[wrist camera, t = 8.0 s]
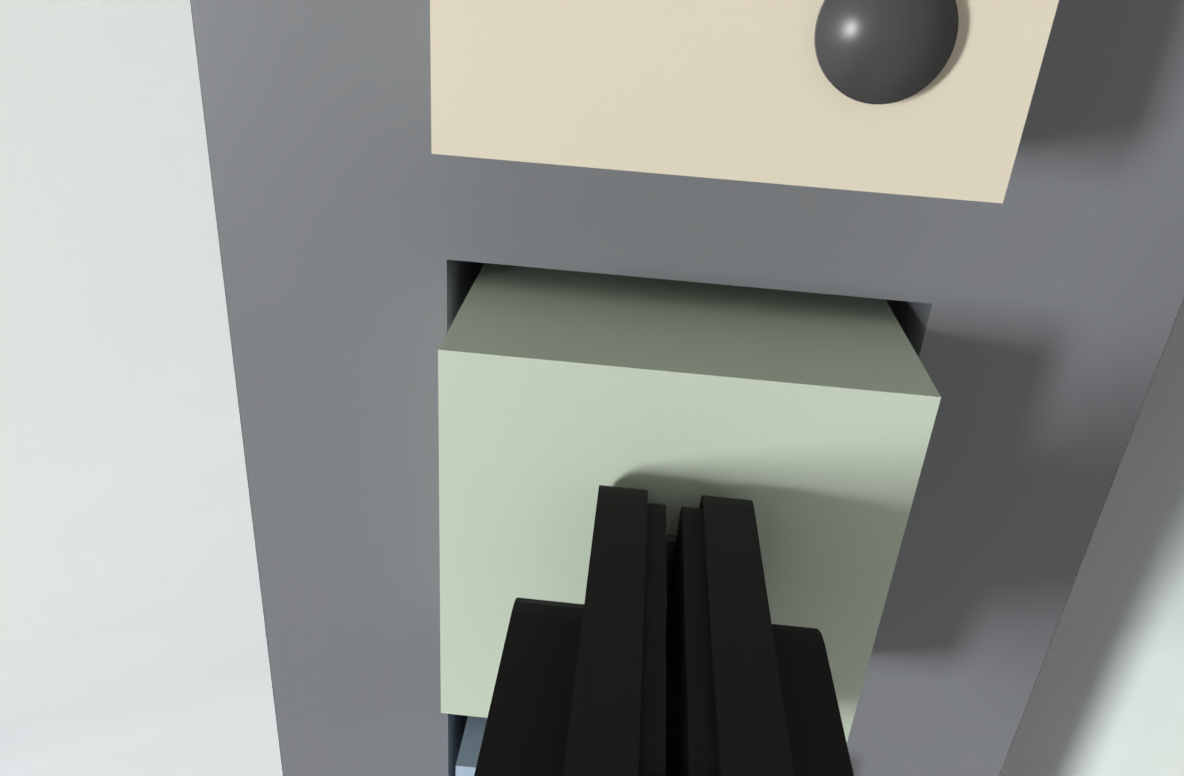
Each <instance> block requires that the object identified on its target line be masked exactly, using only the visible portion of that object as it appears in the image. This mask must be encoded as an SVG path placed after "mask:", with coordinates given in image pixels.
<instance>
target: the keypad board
mask: <svg viewBox="0 0 1184 776" xmlns="http://www.w3.org/2000/svg"><path fill="white" fill-rule="evenodd" d="M190 4H191V12H192V20H193V29H194V37H195V45H196V54H197V62H198V70H199V79H200V87H201V95H202V104H203V112H204V120H205V129H206V137H207V145H208V154H209V162H210V170H211V179H212V187H213V196H214V204H215V212H216V221H217V229H218V237H219V246H220V254H221V262H222V271H223V279H224V287H225V296H226V304H227V312H228V321H229V329H230V337H231V346H232V354H233V362H234V371H235V379H236V388H237V396H238V404H239V413H240V421H241V429H242V438H243V446H244V454H245V463H246V471H247V479H248V488H249V496H250V504H251V513H252V521H253V529H254V538H255V546H256V554H257V563H258V571H259V580H260V588H261V596H262V605H263V613H264V621H265V630H266V638H267V646H268V655H269V663H270V671H271V680H272V688H273V696H274V705H275V713H276V721H277V730H278V738H279V746H280V755H281V763H282V772H283V776H456V762H457V758H458V754H459V750H460V746H461V742H462V738H463V734H464V730H465V726H466V722H467V718H468V716H465V715H456V714H446V713H441V673H440V545H439V417H438V349H439V347H440V345H441V343H442V341H443V339H444V338H445V336H446V334H447V332H448V330H449V328H450V326H451V324H452V323H453V321H454V319H455V317H456V315H457V313H458V311H459V310H460V308H461V306H462V304H463V302H464V300H465V298H466V296H467V295H468V293H469V291H470V289H471V287H472V285H473V283H474V282H475V280H476V278H477V276H478V274H479V272H480V270H481V268H482V267H483V265H484V263H491V264H502V265H513V266H524V267H535V268H546V269H557V270H568V271H579V272H590V273H601V274H612V275H623V276H634V277H645V278H656V279H667V280H678V281H689V282H700V283H711V284H722V285H733V286H744V287H755V288H766V289H777V290H788V291H799V292H810V293H821V294H832V295H843V296H854V297H865V298H876V299H885V300H886V301H887V303H888V305H889V307H890V308H891V310H892V312H893V314H894V315H895V317H896V319H897V321H898V322H899V324H900V326H901V328H902V329H903V331H904V333H905V335H906V336H907V338H908V340H909V342H910V343H911V345H912V347H913V349H914V350H915V352H916V354H917V356H918V357H919V359H920V361H921V363H922V364H923V366H924V368H925V370H926V371H927V373H928V375H929V377H930V378H931V380H932V382H933V384H934V385H935V387H936V389H937V391H938V392H939V394H940V396H941V400H940V403H939V407H938V411H937V414H936V418H935V422H934V425H933V429H932V433H931V436H930V440H929V444H928V447H927V451H926V455H925V458H924V462H923V466H922V469H921V473H920V477H919V480H918V484H917V488H916V491H915V495H914V499H913V502H912V506H911V510H910V513H909V517H908V521H907V524H906V528H905V532H904V535H903V539H902V543H901V546H900V550H899V554H898V557H897V561H896V565H895V568H894V572H893V576H892V579H891V583H890V587H889V590H888V594H887V598H886V601H885V605H884V609H883V612H882V616H881V620H880V623H879V627H878V631H877V634H876V638H875V642H874V645H873V649H872V653H871V656H870V660H869V664H868V667H867V671H866V675H865V678H864V682H863V686H862V689H861V693H860V697H859V700H858V704H857V708H856V711H855V715H854V719H853V722H852V726H851V730H850V733H849V737H848V741H847V747H848V751H849V756H850V760H851V765H852V770H853V774H854V776H999V775H1000V772H1001V769H1002V767H1003V764H1004V762H1005V759H1006V756H1007V754H1008V751H1009V749H1010V746H1011V743H1012V741H1013V738H1014V736H1015V733H1016V731H1017V728H1018V725H1019V723H1020V720H1021V718H1022V715H1023V712H1024V710H1025V707H1026V705H1027V702H1028V700H1029V697H1030V694H1031V692H1032V689H1033V687H1034V684H1035V681H1036V679H1037V676H1038V674H1039V671H1040V669H1041V666H1042V663H1043V661H1044V658H1045V656H1046V653H1047V650H1048V648H1049V645H1050V643H1051V640H1052V637H1053V635H1054V632H1055V630H1056V627H1057V625H1058V622H1059V619H1060V617H1061V614H1062V612H1063V609H1064V606H1065V604H1066V601H1067V599H1068V596H1069V594H1070V591H1071V588H1072V586H1073V583H1074V581H1075V578H1076V575H1077V573H1078V570H1079V568H1080V565H1081V563H1082V560H1083V557H1084V555H1085V552H1086V550H1087V547H1088V544H1089V542H1090V539H1091V537H1092V534H1093V531H1094V529H1095V526H1096V524H1097V521H1098V519H1099V516H1100V513H1101V511H1102V508H1103V506H1104V503H1105V500H1106V498H1107V495H1108V493H1109V490H1110V488H1111V485H1112V482H1113V480H1114V477H1115V475H1116V472H1117V469H1118V467H1119V464H1120V462H1121V459H1122V457H1123V454H1124V451H1125V449H1126V446H1127V444H1128V441H1129V438H1130V436H1131V433H1132V431H1133V428H1134V425H1135V423H1136V420H1137V418H1138V415H1139V413H1140V410H1141V407H1142V405H1143V402H1144V400H1145V397H1146V394H1147V392H1148V389H1149V387H1150V384H1151V382H1152V379H1153V376H1154V374H1155V371H1156V369H1157V366H1158V363H1159V361H1160V358H1161V356H1162V353H1163V351H1164V348H1165V345H1166V343H1167V340H1168V338H1169V335H1170V332H1171V330H1172V327H1173V325H1174V322H1175V319H1176V317H1177V314H1178V312H1179V309H1180V307H1181V304H1182V301H1183V299H1184V0H1059V2H1058V6H1057V10H1056V13H1055V17H1054V20H1053V24H1052V28H1051V31H1050V35H1049V38H1048V42H1047V46H1046V49H1045V53H1044V56H1043V60H1042V64H1041V67H1040V71H1039V74H1038V78H1037V82H1036V85H1035V89H1034V93H1033V96H1032V100H1031V103H1030V107H1029V111H1028V114H1027V118H1026V121H1025V125H1024V129H1023V132H1022V136H1021V139H1020V143H1019V147H1018V150H1017V154H1016V157H1015V161H1014V165H1013V168H1012V172H1011V175H1010V179H1009V183H1008V186H1007V190H1006V194H1005V197H1004V201H1003V204H1002V203H991V202H979V201H968V200H957V199H945V198H934V197H922V196H911V195H899V194H888V193H876V192H865V191H853V190H842V189H830V188H819V187H807V186H796V185H784V184H773V183H761V182H750V181H738V180H727V179H715V178H704V177H692V176H681V175H669V174H658V173H646V172H635V171H623V170H612V169H600V168H589V167H577V166H566V165H554V164H543V163H531V162H520V161H509V160H497V159H486V158H474V157H463V156H451V155H440V154H432V153H431V55H430V0H190Z"/></svg>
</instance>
